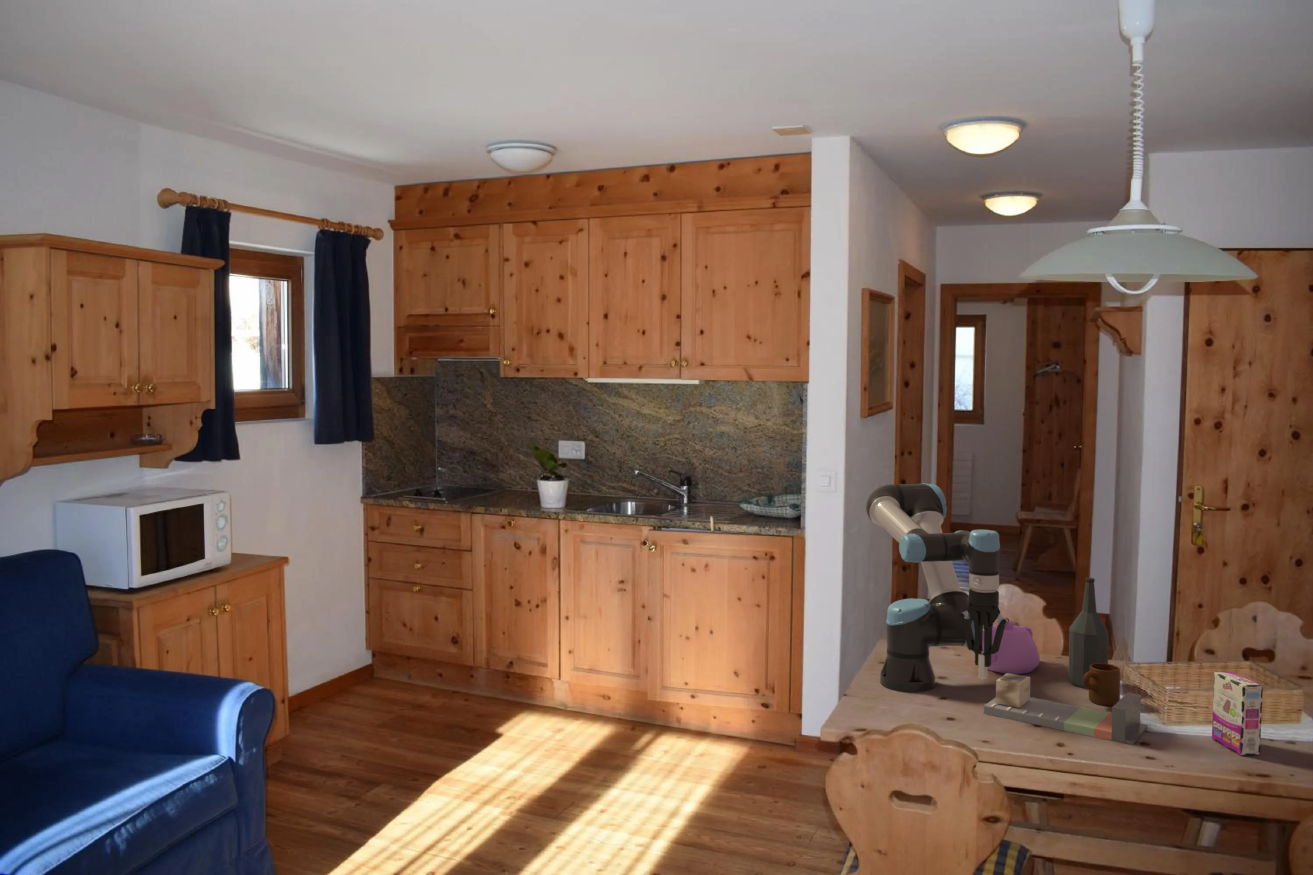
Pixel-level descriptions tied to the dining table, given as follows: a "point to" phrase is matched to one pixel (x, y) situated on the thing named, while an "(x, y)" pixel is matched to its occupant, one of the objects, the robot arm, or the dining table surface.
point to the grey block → (1127, 719)
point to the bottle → (1087, 638)
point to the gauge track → (1056, 716)
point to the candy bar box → (1237, 713)
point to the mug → (1103, 684)
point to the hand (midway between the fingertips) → (982, 677)
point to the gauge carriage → (1012, 690)
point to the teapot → (1014, 650)
